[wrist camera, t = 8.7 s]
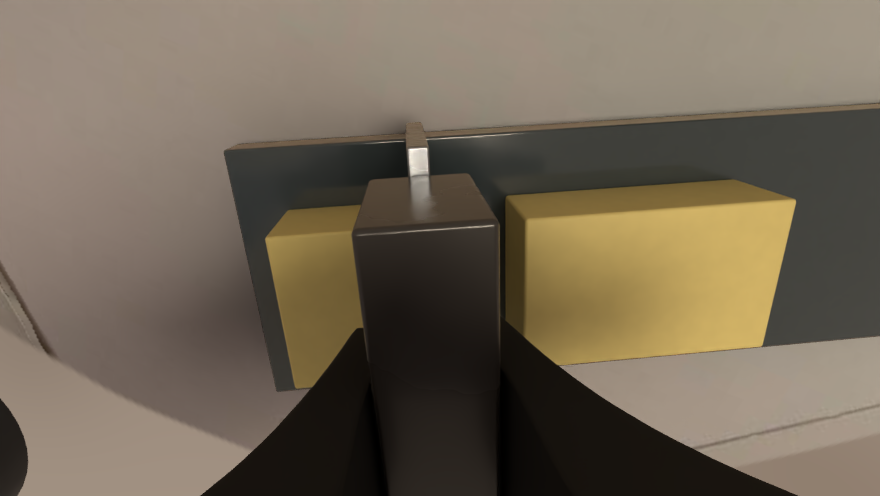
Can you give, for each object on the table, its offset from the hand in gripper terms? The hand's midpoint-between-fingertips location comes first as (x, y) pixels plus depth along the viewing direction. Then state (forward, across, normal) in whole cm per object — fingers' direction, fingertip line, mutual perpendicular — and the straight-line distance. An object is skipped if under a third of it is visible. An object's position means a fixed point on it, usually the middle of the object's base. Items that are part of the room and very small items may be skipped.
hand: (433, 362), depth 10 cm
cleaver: (+4, 0, 0) cm, 4 cm away
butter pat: (+5, +2, 0) cm, 5 cm away
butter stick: (+5, -6, 0) cm, 8 cm away
